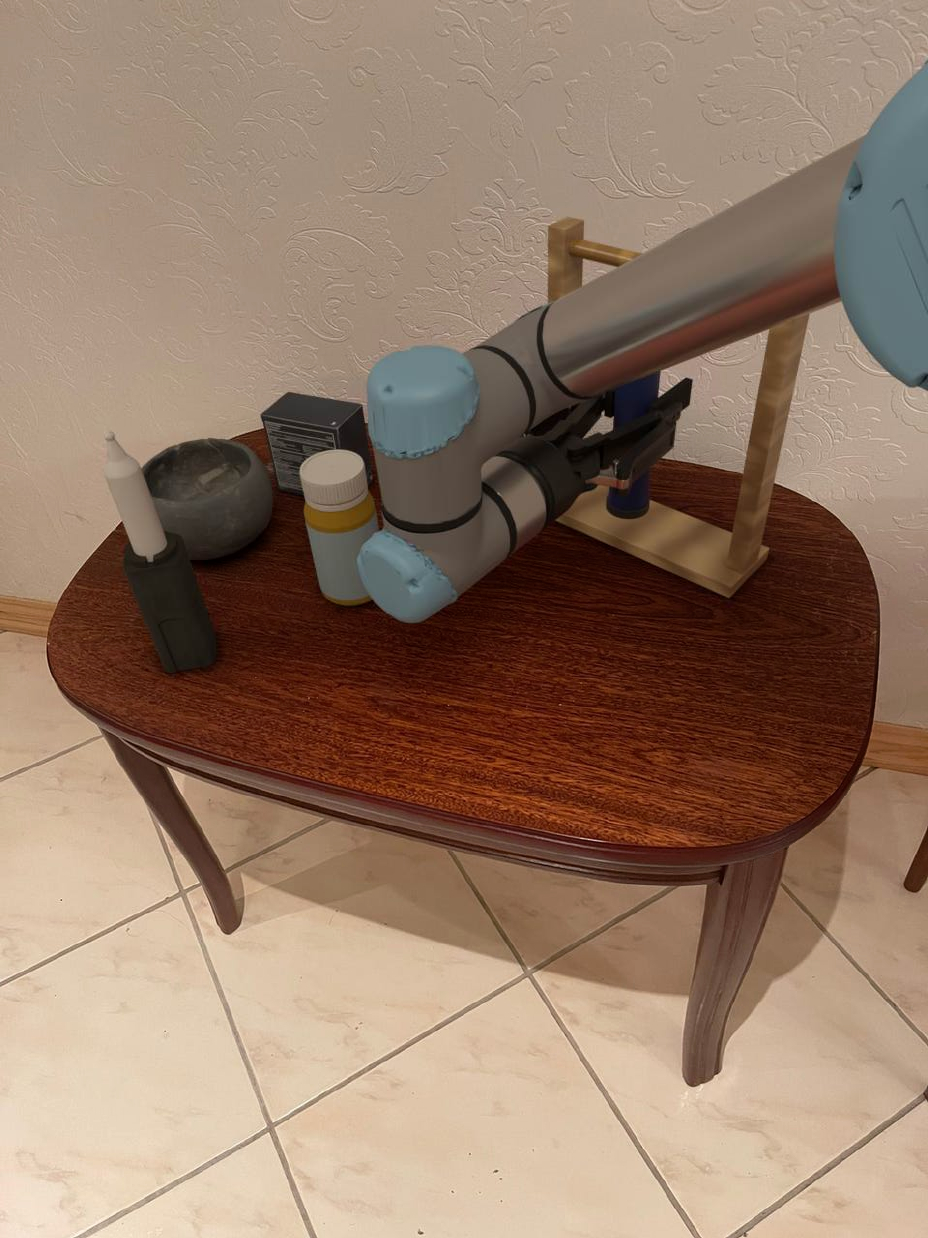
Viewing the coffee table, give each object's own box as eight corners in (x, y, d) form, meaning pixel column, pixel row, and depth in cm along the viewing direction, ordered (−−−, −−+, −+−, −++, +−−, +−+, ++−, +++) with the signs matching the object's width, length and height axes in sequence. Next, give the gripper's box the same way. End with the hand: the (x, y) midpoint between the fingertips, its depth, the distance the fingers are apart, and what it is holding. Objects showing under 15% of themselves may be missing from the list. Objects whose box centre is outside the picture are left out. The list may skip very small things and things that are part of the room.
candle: (163, 675, 86) (71, 452, 69) (165, 640, 89) (78, 420, 73) (216, 666, 86) (137, 442, 69) (216, 631, 90) (142, 411, 73)
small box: (377, 478, 109) (365, 401, 102) (351, 507, 105) (337, 429, 98) (303, 463, 112) (288, 387, 105) (276, 491, 108) (257, 414, 101)
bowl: (135, 533, 103) (107, 459, 97) (255, 490, 108) (236, 418, 102) (172, 602, 94) (144, 526, 87) (302, 552, 99) (285, 476, 92)
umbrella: (633, 524, 89) (656, 267, 72) (597, 509, 91) (610, 256, 74) (686, 479, 94) (719, 230, 77) (650, 466, 97) (675, 220, 79)
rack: (767, 559, 93) (832, 262, 72) (728, 598, 89) (786, 295, 68) (574, 479, 106) (582, 208, 85) (533, 511, 102) (531, 233, 81)
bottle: (309, 601, 93) (281, 480, 82) (340, 561, 97) (317, 442, 87) (369, 615, 90) (347, 493, 80) (397, 573, 95) (380, 453, 85)
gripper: (443, 496, 81) (593, 394, 93) (597, 568, 72) (740, 445, 85) (437, 424, 76) (596, 326, 88) (601, 492, 67) (752, 372, 80)
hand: (666, 384), depth 86 cm, fingers closed on umbrella, 4 cm apart
